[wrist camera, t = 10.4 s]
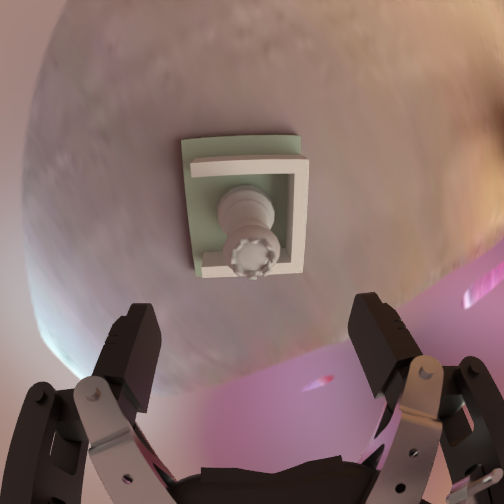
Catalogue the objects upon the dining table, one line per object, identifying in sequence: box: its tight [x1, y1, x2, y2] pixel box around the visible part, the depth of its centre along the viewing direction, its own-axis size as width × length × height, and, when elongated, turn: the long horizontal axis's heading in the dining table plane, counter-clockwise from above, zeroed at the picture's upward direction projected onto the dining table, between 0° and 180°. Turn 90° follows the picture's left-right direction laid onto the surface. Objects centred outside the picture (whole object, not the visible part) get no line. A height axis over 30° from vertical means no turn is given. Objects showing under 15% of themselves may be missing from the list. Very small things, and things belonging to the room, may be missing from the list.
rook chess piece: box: [218, 185, 280, 280], centre depth 18 cm, size 4×4×8 cm
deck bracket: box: [181, 135, 309, 278], centre depth 21 cm, size 12×9×4 cm
